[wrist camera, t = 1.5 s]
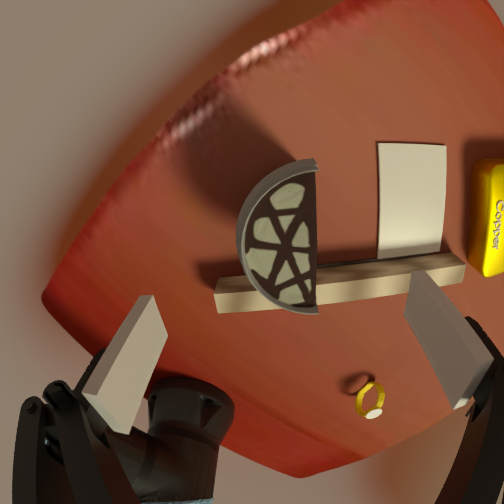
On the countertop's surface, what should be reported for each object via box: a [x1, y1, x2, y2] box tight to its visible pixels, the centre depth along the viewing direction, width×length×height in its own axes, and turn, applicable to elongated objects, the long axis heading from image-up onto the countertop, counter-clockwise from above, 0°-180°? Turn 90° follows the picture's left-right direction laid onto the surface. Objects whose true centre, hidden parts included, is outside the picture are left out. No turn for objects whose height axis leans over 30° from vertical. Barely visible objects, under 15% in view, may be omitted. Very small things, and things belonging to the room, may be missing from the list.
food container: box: [236, 158, 319, 314], centre depth 24 cm, size 12×6×10 cm, turn 5°
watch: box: [355, 382, 385, 419], centre depth 37 cm, size 6×3×6 cm, turn 156°
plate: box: [377, 143, 446, 259], centre depth 27 cm, size 9×13×1 cm
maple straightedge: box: [214, 252, 466, 313], centre depth 30 cm, size 30×3×4 cm, turn 97°
